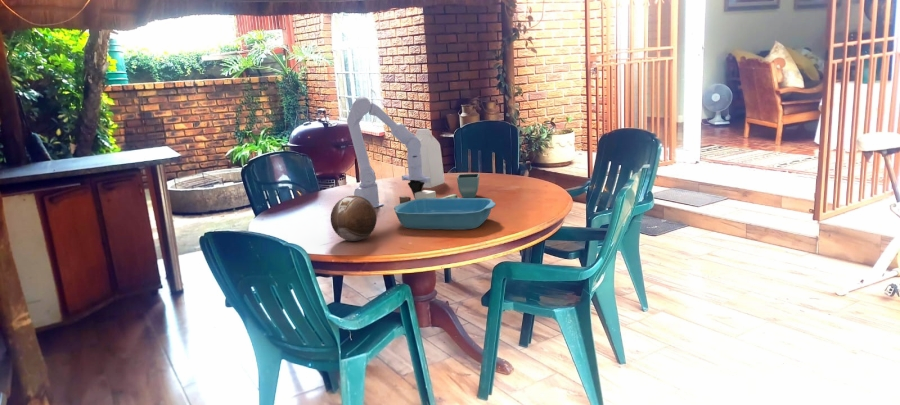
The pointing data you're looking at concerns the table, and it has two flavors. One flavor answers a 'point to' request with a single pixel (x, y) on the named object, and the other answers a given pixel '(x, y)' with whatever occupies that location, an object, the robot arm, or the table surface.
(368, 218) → the wooden sphere
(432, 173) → the milk
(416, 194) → the block
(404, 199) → the trap lane
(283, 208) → the table surface
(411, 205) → the casserole dish
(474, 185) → the flower pot
